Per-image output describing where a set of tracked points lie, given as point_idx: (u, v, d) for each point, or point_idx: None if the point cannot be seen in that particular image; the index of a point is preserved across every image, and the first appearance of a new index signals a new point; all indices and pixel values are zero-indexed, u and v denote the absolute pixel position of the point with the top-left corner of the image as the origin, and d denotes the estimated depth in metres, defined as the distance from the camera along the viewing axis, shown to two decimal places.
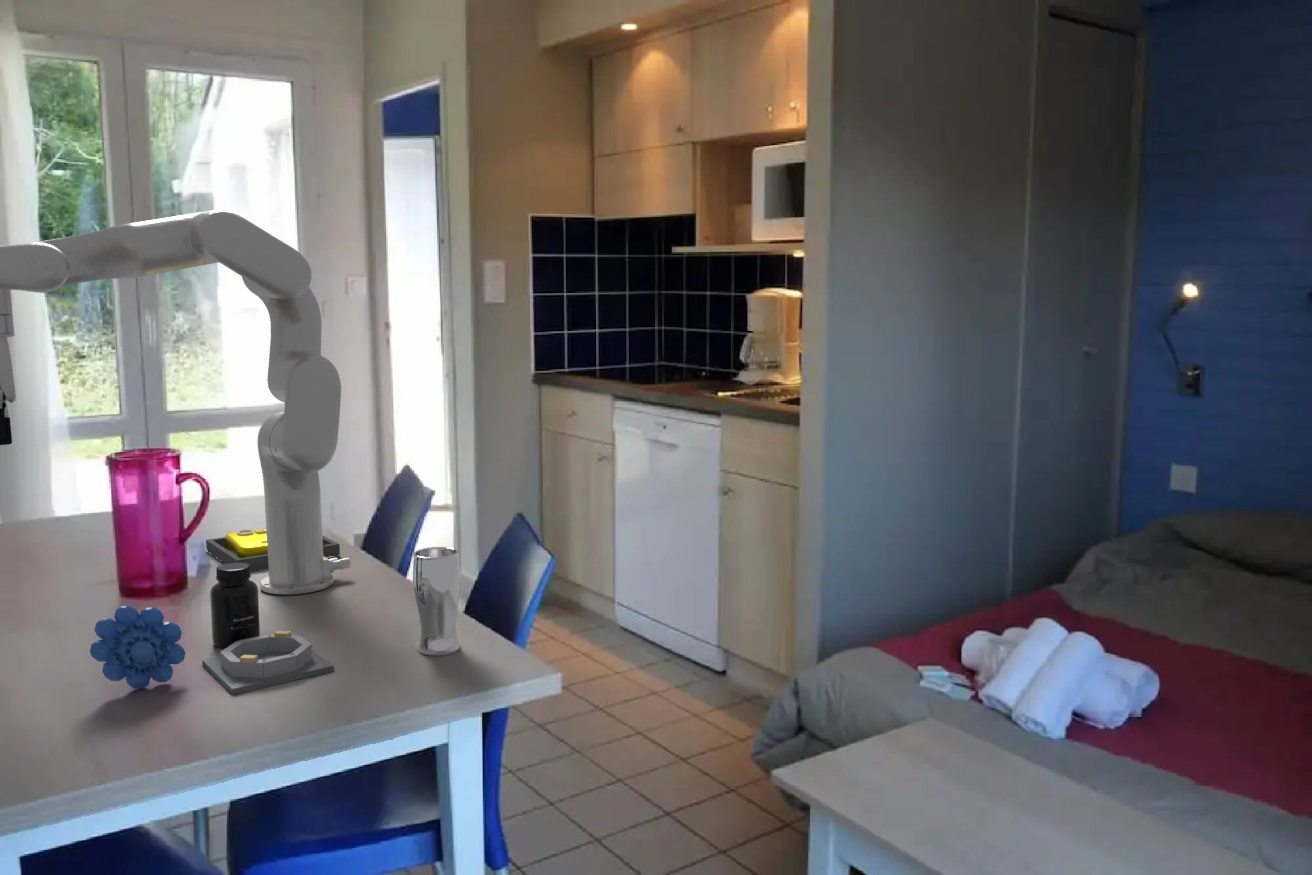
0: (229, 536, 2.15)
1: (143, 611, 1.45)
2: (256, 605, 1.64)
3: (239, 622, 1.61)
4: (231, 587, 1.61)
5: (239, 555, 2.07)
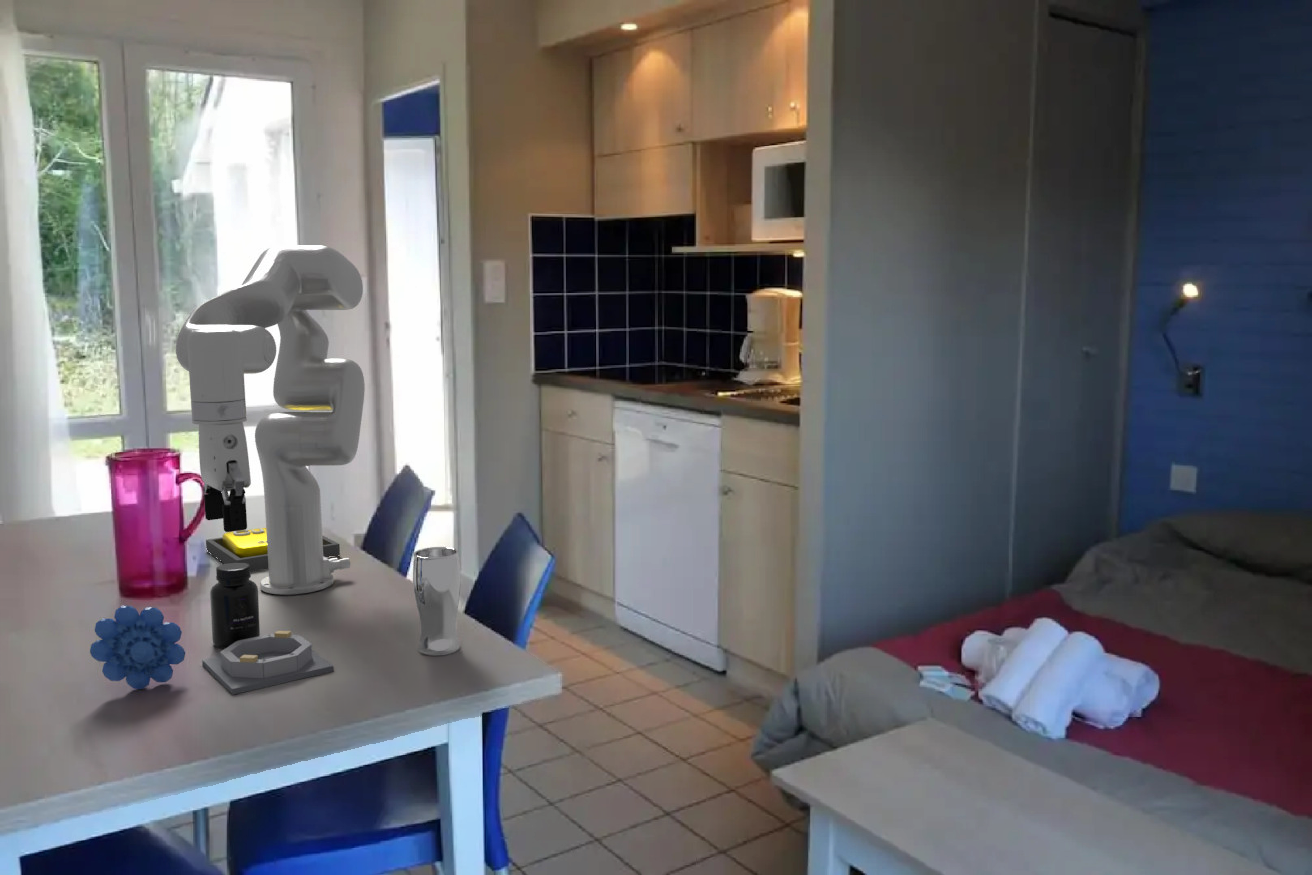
0: (226, 536, 2.15)
1: (143, 611, 1.45)
2: (256, 605, 1.64)
3: (239, 622, 1.61)
4: (231, 587, 1.61)
5: None
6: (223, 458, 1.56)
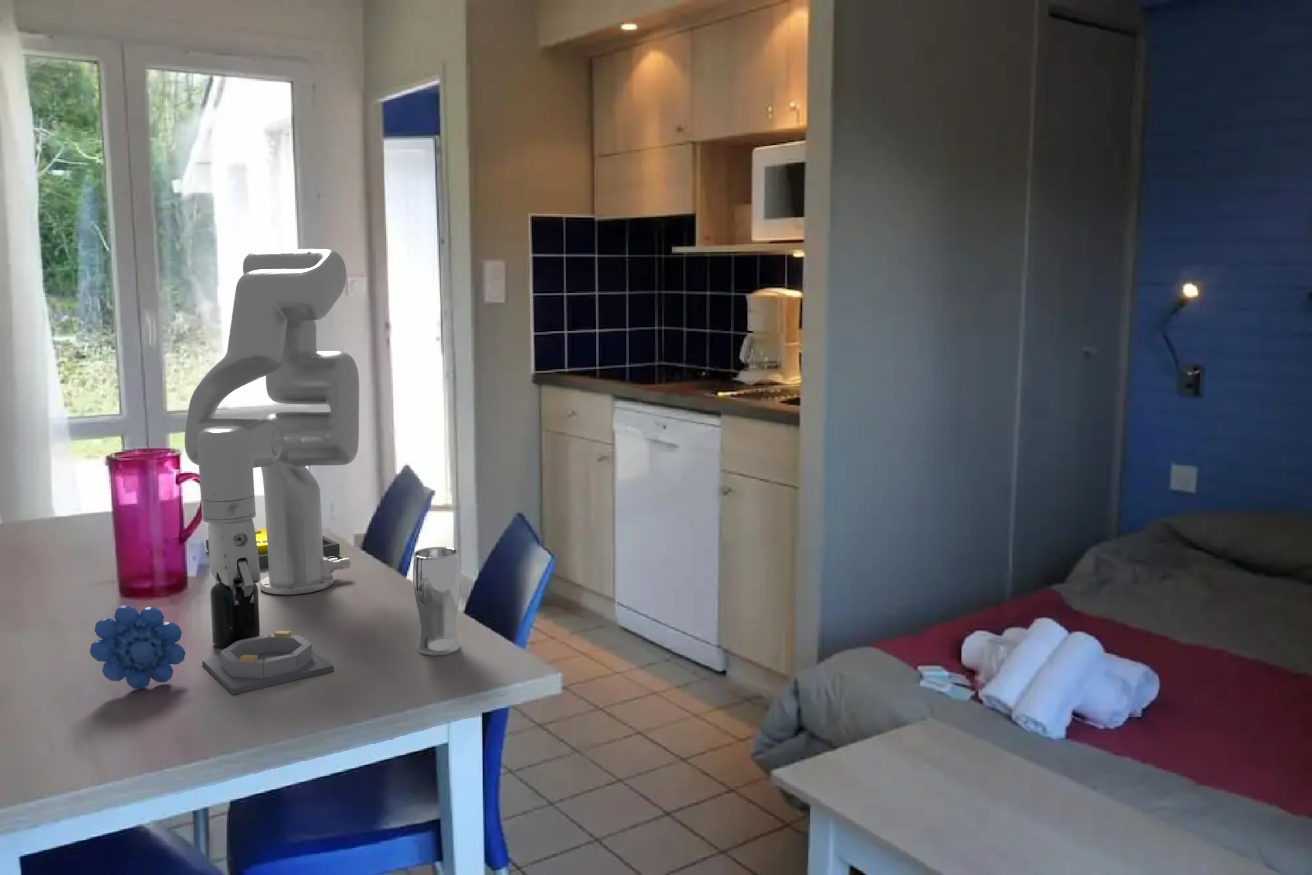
0: None
1: (143, 611, 1.45)
2: (256, 605, 1.64)
3: None
4: None
5: None
6: (233, 556, 1.58)
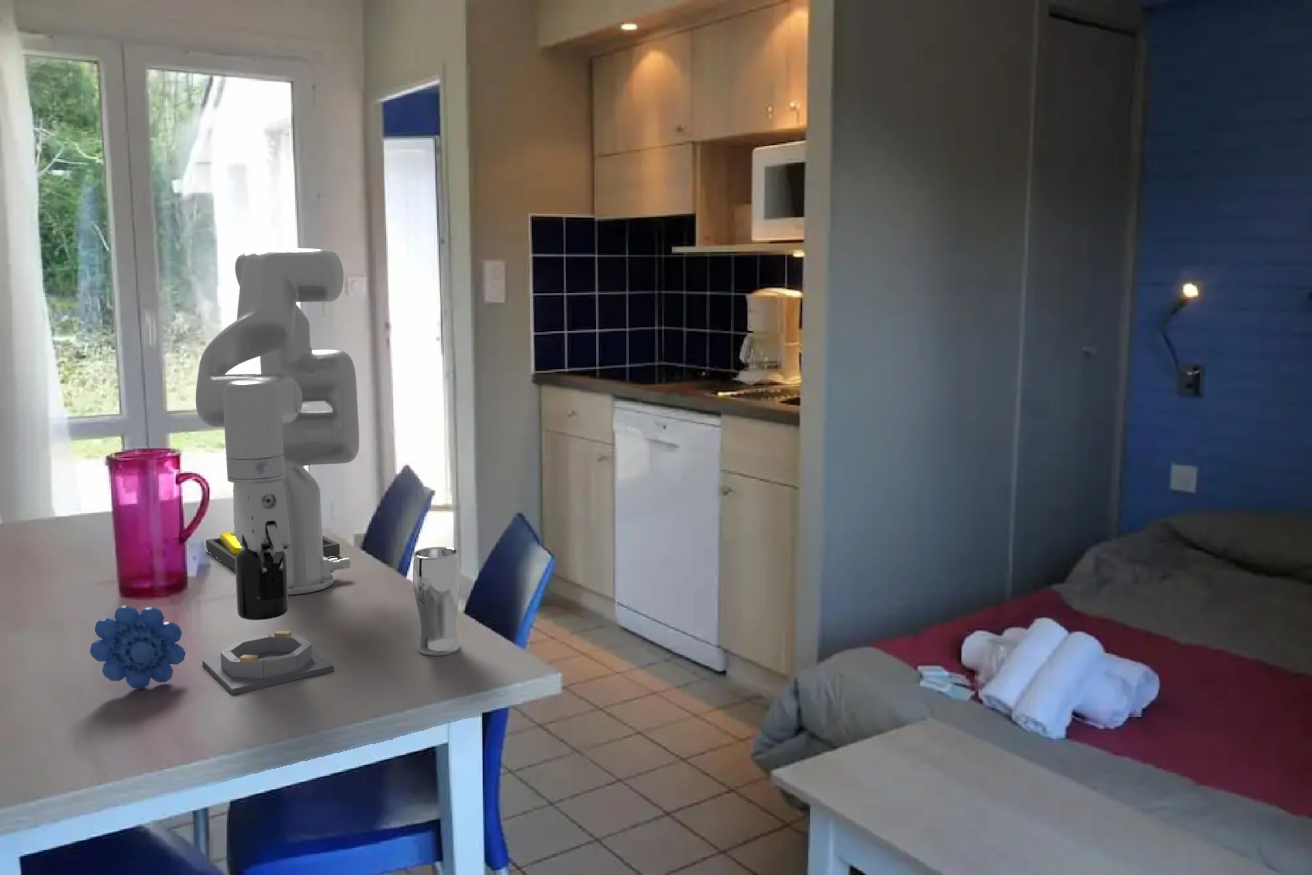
0: (223, 536, 2.15)
1: (143, 611, 1.45)
2: (284, 573, 1.51)
3: None
4: None
5: None
6: (262, 519, 1.46)
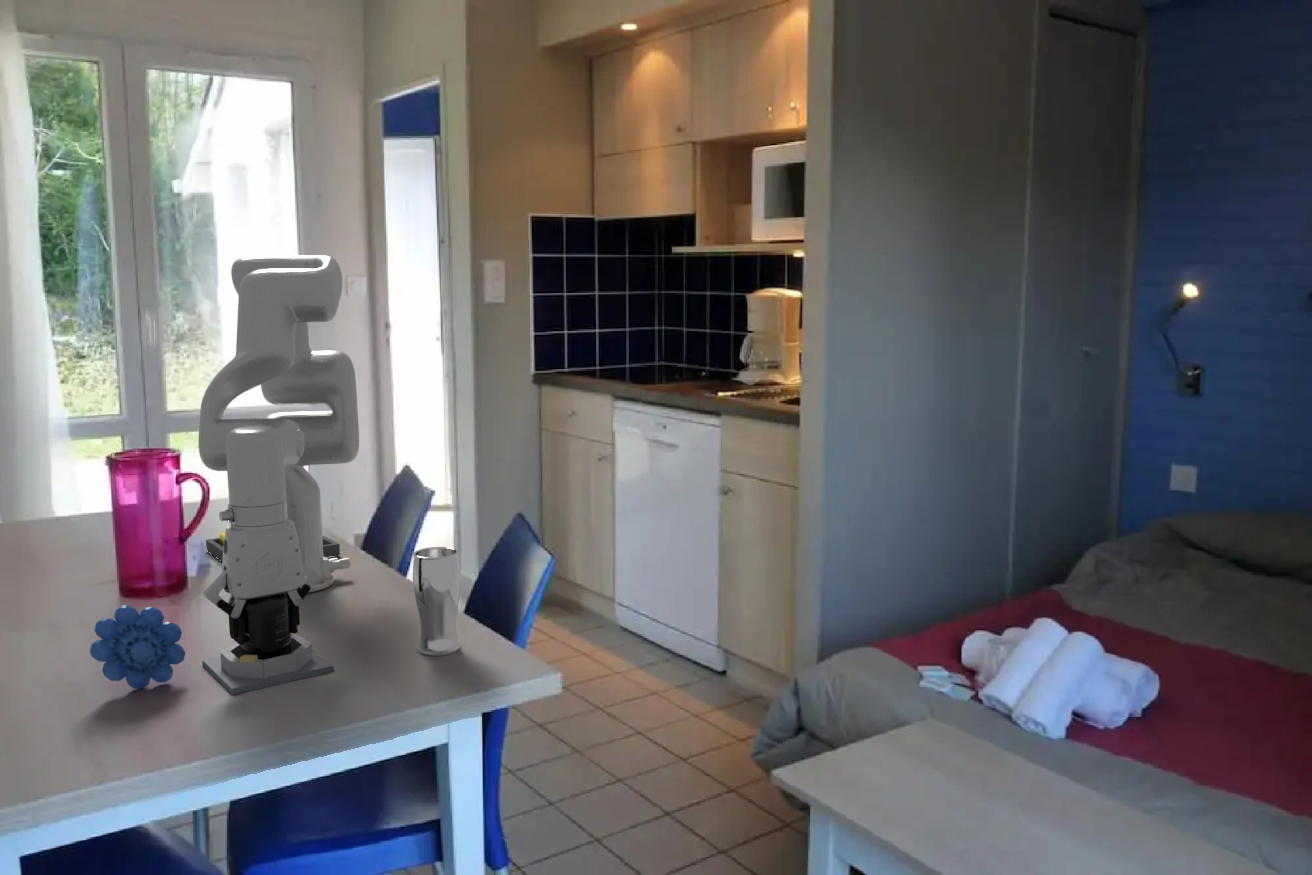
0: (223, 536, 2.15)
1: (143, 611, 1.45)
2: (255, 625, 1.50)
3: None
4: None
5: None
6: (223, 561, 1.49)
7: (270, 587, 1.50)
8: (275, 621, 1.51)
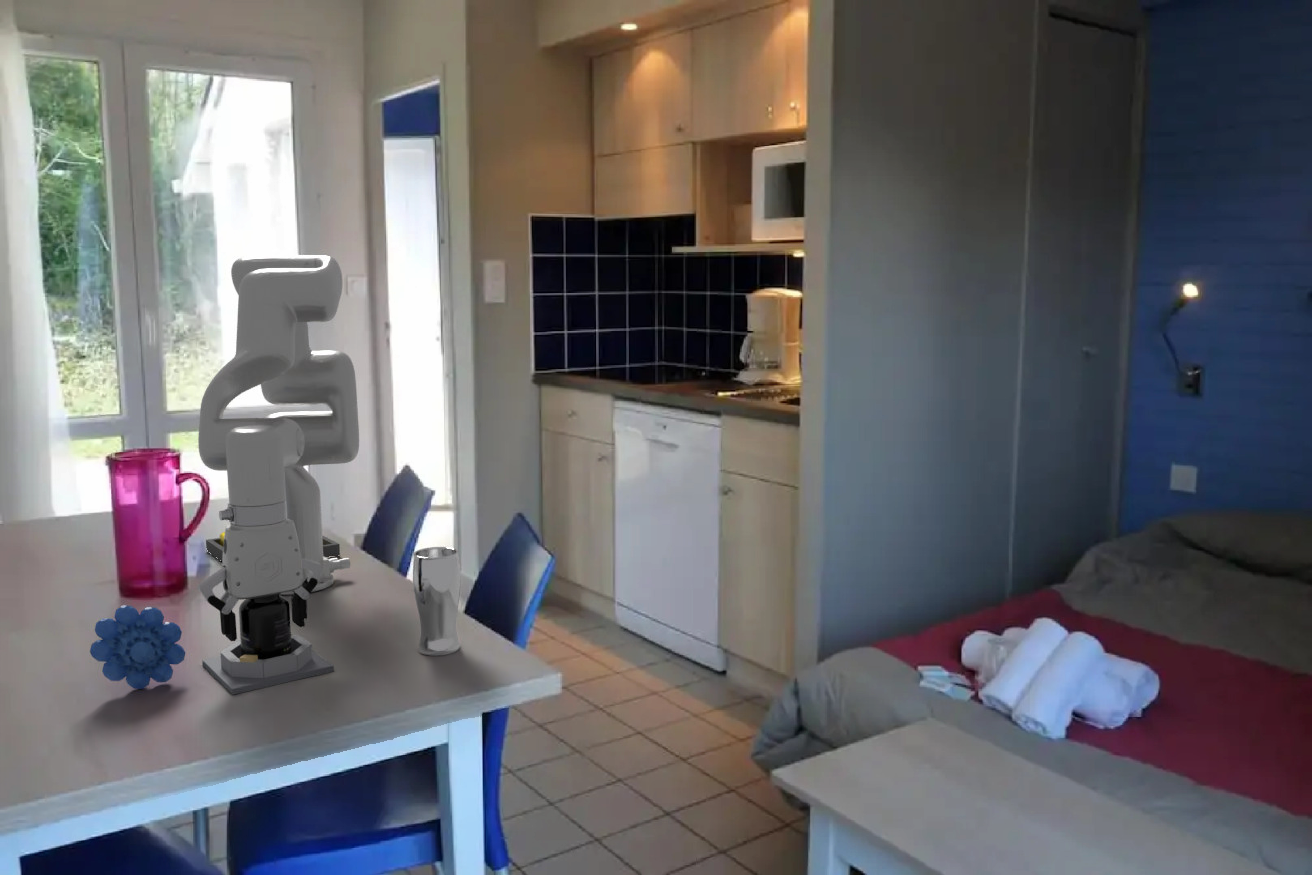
0: (223, 536, 2.15)
1: (143, 611, 1.45)
2: (254, 630, 1.50)
3: (240, 638, 1.52)
4: None
5: None
6: (222, 561, 1.49)
7: (269, 587, 1.50)
8: (275, 626, 1.51)
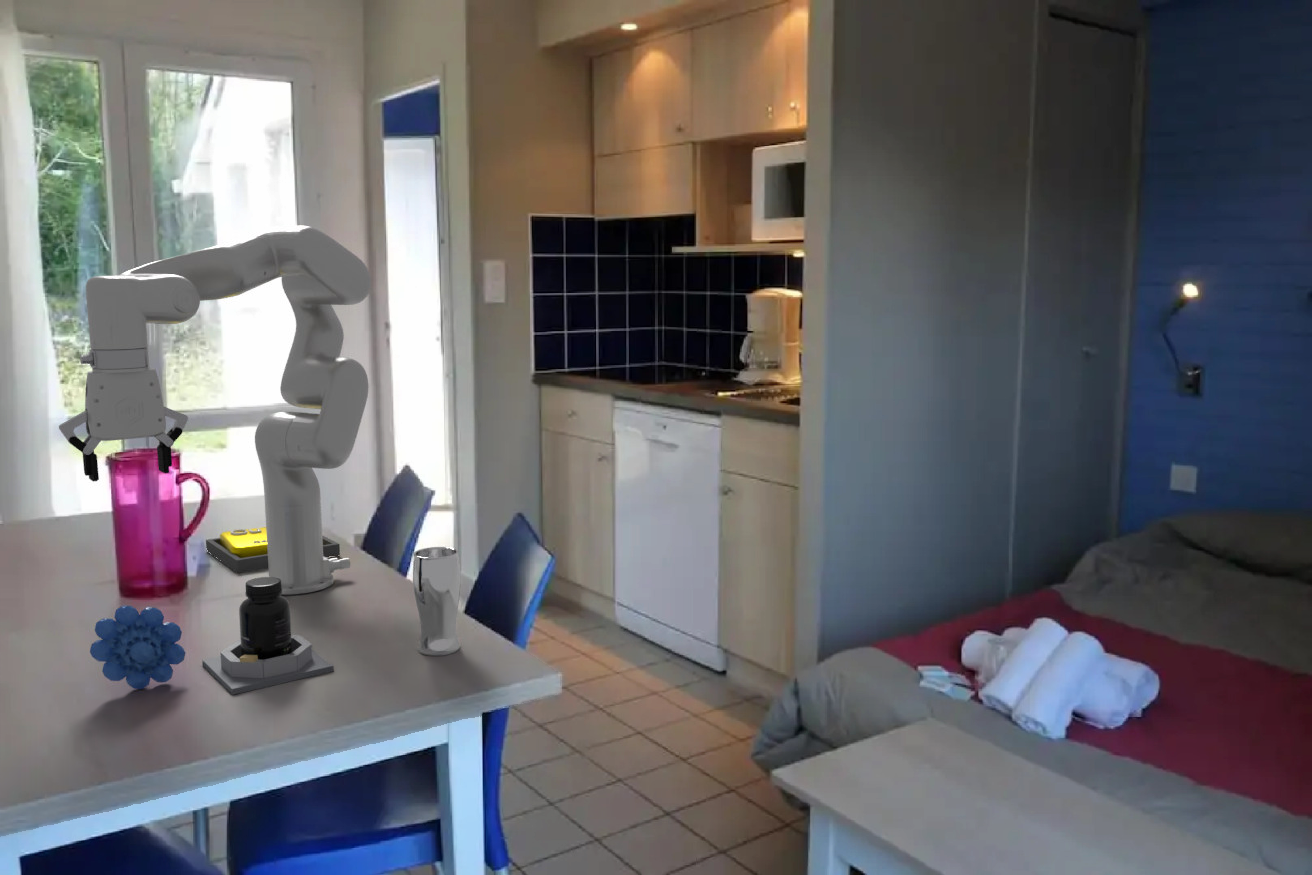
0: (223, 536, 2.15)
1: (143, 611, 1.45)
2: (255, 630, 1.50)
3: (241, 638, 1.52)
4: (246, 599, 1.52)
5: None
6: (85, 405, 1.56)
7: (131, 430, 1.56)
8: (275, 626, 1.51)
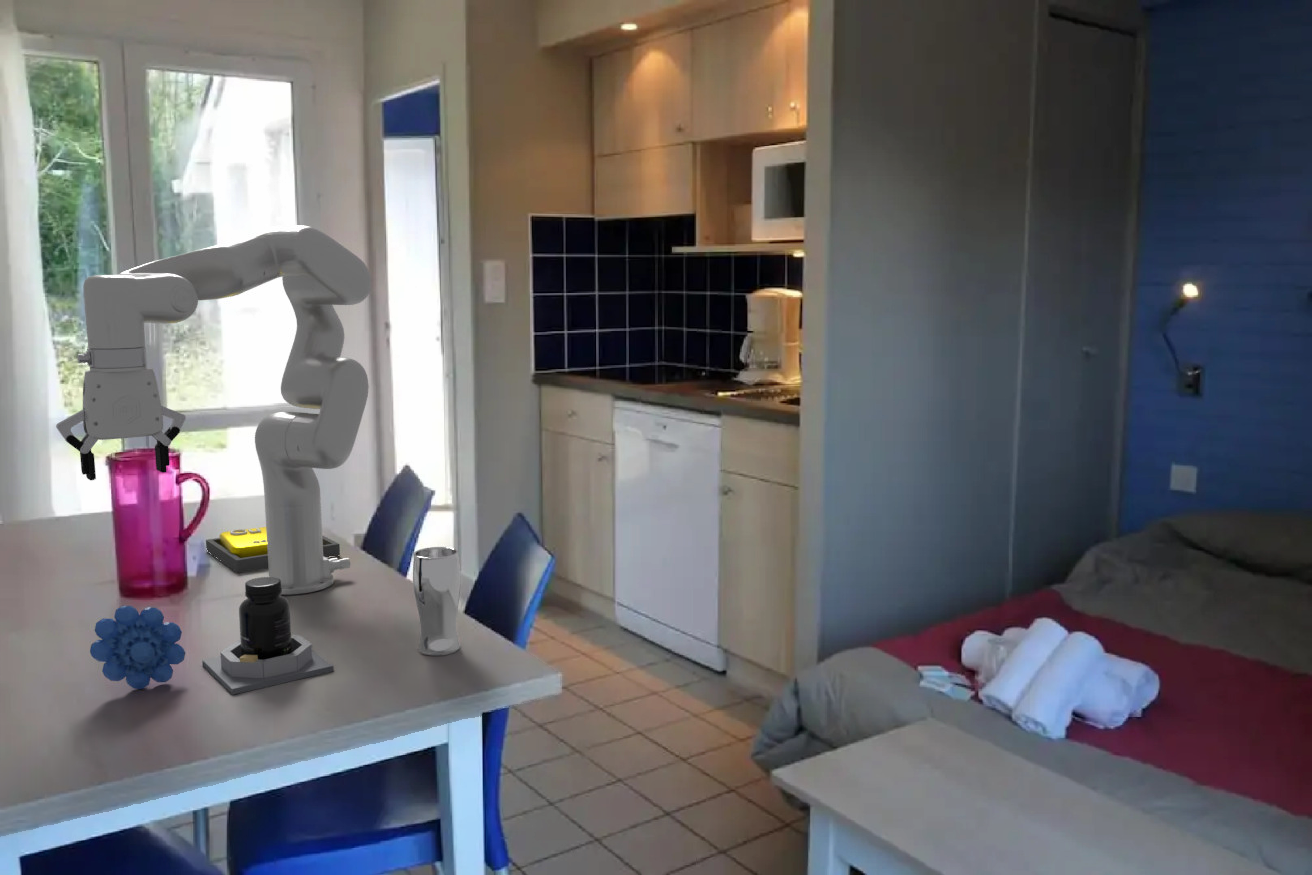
0: (223, 536, 2.15)
1: (143, 611, 1.45)
2: (254, 630, 1.50)
3: (240, 638, 1.52)
4: None
5: None
6: None
7: (128, 429, 1.57)
8: (275, 626, 1.51)
